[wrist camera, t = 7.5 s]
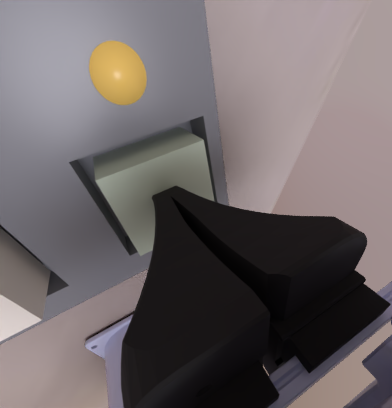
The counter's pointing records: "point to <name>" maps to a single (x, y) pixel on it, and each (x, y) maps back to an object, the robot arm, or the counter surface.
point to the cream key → (20, 287)
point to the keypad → (93, 125)
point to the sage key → (151, 179)
